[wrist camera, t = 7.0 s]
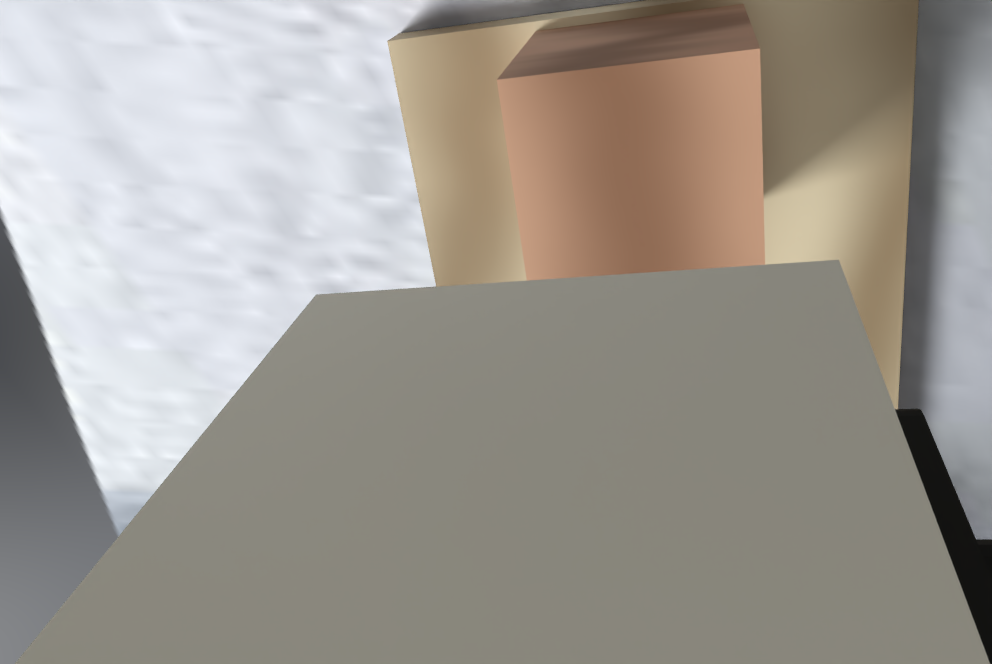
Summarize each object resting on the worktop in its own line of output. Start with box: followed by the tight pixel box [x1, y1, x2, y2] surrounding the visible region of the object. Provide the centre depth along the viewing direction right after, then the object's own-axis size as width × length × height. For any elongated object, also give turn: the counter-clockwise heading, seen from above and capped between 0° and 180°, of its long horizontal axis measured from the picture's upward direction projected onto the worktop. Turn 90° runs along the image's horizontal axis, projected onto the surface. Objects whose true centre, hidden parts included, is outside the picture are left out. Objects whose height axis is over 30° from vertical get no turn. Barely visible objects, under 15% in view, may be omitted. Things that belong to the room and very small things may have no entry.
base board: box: [388, 0, 919, 409], centre depth 27 cm, size 14×24×7 cm, turn 9°
